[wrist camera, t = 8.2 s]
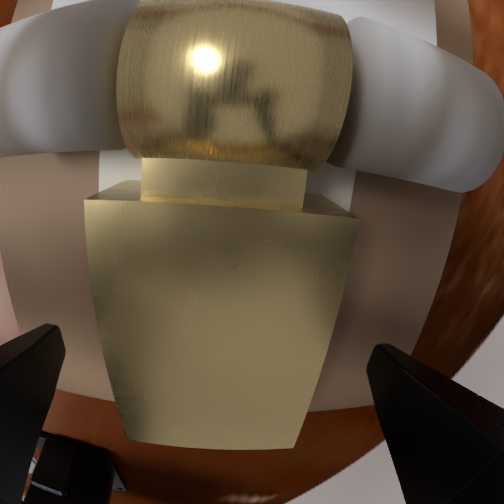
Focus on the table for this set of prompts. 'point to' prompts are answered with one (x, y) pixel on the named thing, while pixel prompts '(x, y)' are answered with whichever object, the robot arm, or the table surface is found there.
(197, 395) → the perfume bottle
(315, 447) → the table surface
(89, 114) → the hinge base
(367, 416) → the table surface
